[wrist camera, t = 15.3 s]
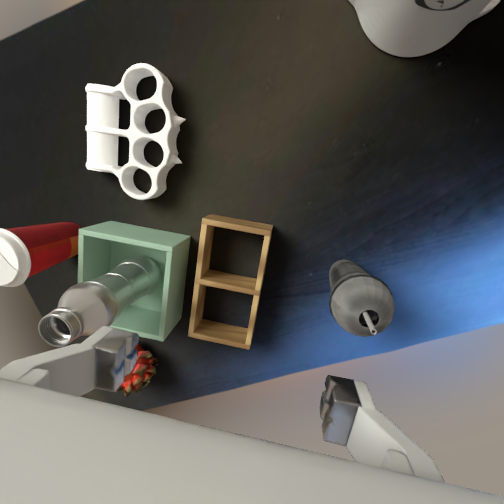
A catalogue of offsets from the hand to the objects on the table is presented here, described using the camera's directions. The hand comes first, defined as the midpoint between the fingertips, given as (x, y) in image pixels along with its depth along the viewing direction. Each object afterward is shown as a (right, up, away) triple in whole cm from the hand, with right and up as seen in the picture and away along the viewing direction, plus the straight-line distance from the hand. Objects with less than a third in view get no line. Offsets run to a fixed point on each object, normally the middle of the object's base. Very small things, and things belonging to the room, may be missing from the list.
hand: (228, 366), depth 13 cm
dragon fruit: (-20, -14, +43) cm, 49 cm away
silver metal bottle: (-17, +2, +37) cm, 41 cm away
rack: (-2, +1, +37) cm, 37 cm away
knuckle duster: (-16, +22, +33) cm, 43 cm away
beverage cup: (+15, +2, +34) cm, 38 cm away
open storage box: (-17, +2, +38) cm, 42 cm away
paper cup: (-29, +7, +39) cm, 49 cm away
